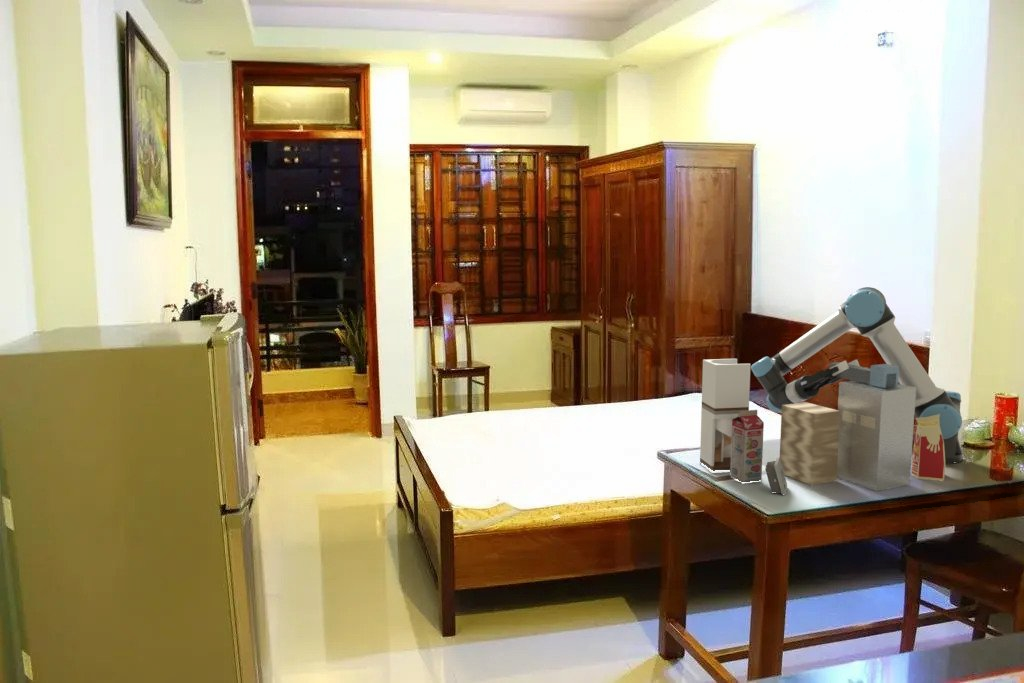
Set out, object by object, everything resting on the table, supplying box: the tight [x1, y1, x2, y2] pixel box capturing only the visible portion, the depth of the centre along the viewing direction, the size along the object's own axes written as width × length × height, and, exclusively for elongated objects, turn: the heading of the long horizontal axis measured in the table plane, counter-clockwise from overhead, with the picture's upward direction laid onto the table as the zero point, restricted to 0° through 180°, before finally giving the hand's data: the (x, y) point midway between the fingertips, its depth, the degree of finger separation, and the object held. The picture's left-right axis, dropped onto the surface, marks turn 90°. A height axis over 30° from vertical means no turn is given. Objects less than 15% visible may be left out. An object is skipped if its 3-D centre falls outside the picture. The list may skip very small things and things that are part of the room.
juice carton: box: [729, 409, 765, 482], centre depth 247 cm, size 7×7×22 cm
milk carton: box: [910, 414, 946, 482], centre depth 250 cm, size 9×9×20 cm
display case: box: [699, 358, 752, 471], centre depth 259 cm, size 11×11×35 cm
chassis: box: [837, 380, 916, 492], centre depth 245 cm, size 16×14×30 cm
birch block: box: [779, 401, 840, 486], centre depth 250 cm, size 14×10×22 cm
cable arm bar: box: [828, 362, 899, 388], centre depth 248 cm, size 22×6×6 cm, turn 24°
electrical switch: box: [764, 457, 788, 495], centre depth 238 cm, size 9×5×9 cm, turn 157°
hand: (852, 364), depth 251 cm, fingers closed on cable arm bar, 4 cm apart
